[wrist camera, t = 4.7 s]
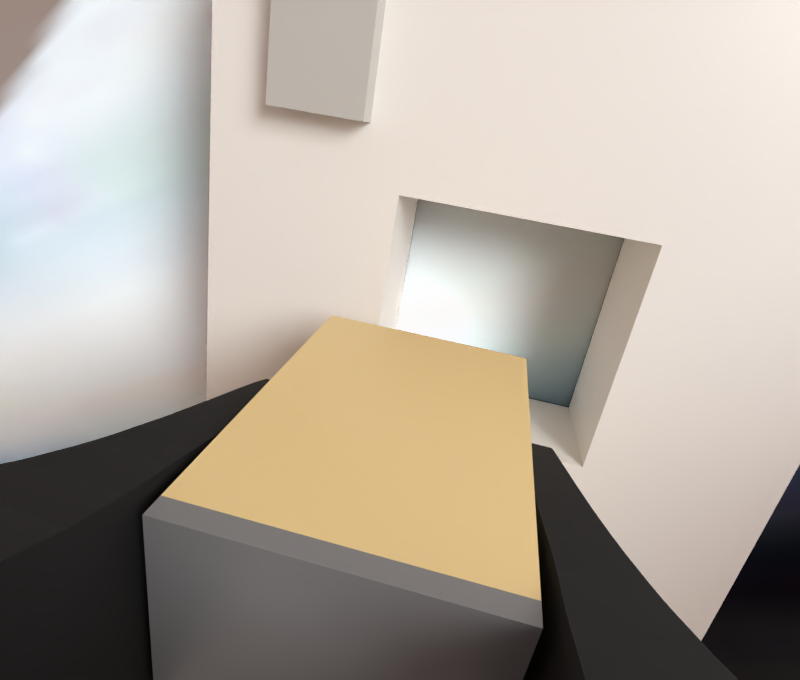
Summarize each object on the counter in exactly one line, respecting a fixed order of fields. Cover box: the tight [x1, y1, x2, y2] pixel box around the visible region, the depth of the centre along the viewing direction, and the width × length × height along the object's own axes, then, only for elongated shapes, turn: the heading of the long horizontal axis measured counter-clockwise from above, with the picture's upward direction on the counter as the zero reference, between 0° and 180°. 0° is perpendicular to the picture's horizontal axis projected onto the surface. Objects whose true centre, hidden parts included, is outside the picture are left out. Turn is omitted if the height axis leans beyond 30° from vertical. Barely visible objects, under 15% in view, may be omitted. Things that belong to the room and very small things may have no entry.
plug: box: [142, 315, 543, 680], centre depth 8 cm, size 4×4×6 cm
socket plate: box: [206, 0, 800, 641], centre depth 13 cm, size 14×16×4 cm
